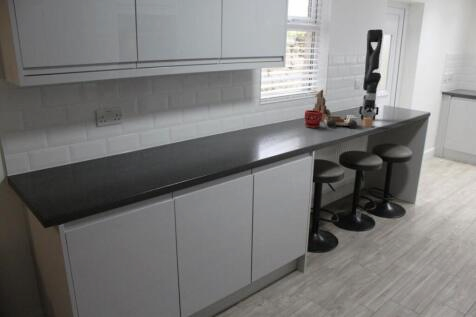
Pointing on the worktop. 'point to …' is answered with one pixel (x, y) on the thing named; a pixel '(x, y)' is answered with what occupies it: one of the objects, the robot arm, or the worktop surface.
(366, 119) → the engine block
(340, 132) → the worktop surface
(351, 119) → the car chassis
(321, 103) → the wooden toy
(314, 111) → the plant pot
